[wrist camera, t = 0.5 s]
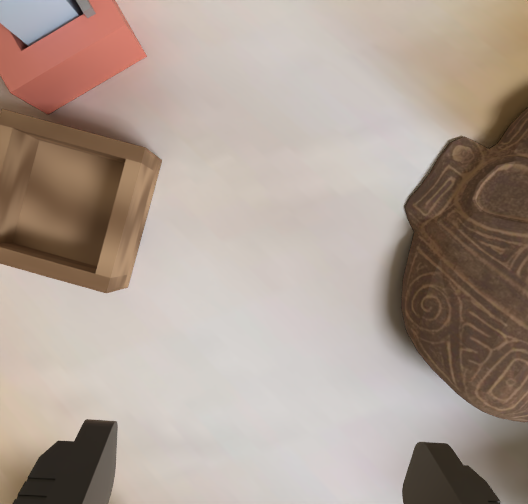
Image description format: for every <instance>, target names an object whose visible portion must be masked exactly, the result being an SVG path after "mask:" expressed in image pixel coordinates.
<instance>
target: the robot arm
mask: <svg viewBox="0 0 528 504" xmlns="http://www.w3.org/2000/svg"><path fill="white" fill-rule="evenodd" d="M116 447H117V422H116V421H104V420H88V419H87V420H85V421H84V423H83V425H82V427H81V429H80V431H79V433H78V435H77V437H76V439H75V441H74V442H72V441H57V442H56V443H55V444H54V445H53V446H52V447H50V448H49V449H48V450H47V451H46V452H45V453H44V454H42V455H41V456H40V457H39V459H38V460H37V462H36V464H35V466H34V467H33V469H32V471H31V473H30V474H29V476H28V479H27V482H26V481H25V483H24V485H23V487H22V488H21V490H20V492H19V493H18V497H17V499H15V500H14V502H13V504H108V502H109V498H110V495H111V491H112V487H113V482H114V476H115V468H116ZM402 496H403V503H404V504H500V500H499V499H498V497H497V496H496V495H495V493H494V492H493V490H492V489H491V488H490V486H489V485H488V483H487V482H486V481H485V480H484V479H483V478H481V477H480V476H479V475H478V474H477V473H476V472H475V471H474V470H472V469H471V468H470V467H469V466H465V465H463V464H462V463H461V461H460V460H459V458H458V457H457V455H456V454H455V452H454V451H453V449H452V448H451V447H450V446H449V445H448V444H445V443H429V442H419V443H417V444H416V446H415V448H414V451H413V455H412V458H411V461H410V464H409V467H408V471H407V474H406V477H405V480H404V483H403V490H402Z"/></svg>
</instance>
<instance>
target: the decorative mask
mask: <svg viewBox="0 0 528 504" xmlns="http://www.w3.org/2000/svg"><path fill="white" fill-rule="evenodd" d="M405 211H406V214H407V218H408V221H409V223H410V225H411V227H412V228H413V230H414V235H413V239H412V243H411V247H410V251H409V256H408V260H407V264H406V269H405V273H404V277H403V287H402V303H401V309H402V313H403V318H404V322H405V327H406V331H407V333H408V335H409V337H410V339H411V340H412V342H413V344H414V346H415V347H416V349H417V351H418V352H419V354H420V355H421V356H422V357H423V359H424V360H425V361H426V362H427V364H428V365H429V366H430V367H431V368H432V369H433V370H434V371H435V372H436V373H437V374H438V375H439V376H440V377H441V378H442V379H443V380H444V381H445V382H446V383H447V384H448V385H449V386H450V387H451V388H452V389H453V390H454V391H455V392H456V393H457V394H458V395H459V396H461V397H462V398H463V399H465V400H466V401H467V402H468V403H470V404H471V405H473V406H474V407H476V408H478V409H479V410H481V411H483V412H485V413H488V414H490V415H493V416H495V417H499V418H502V419H508V420H513V421H520V422H528V108H527V109H526V110H525V111H524V112H523V113H521V114H520V115H519V116H518V117H517V119H516V120H515V121H514V122H513V123H512V124H511V125H510V126H509V128H508V129H507V130H506V132H505V133H504V135H503V136H502V138H501V139H500V141H499V142H498V143H497V145H495V146H493V147H491V148H489V149H488V148H486V147H484V146H482V145H481V144H479V143H477V142H475V141H473V140H471V139H469V138H466V137H462V138H460V139H458V140H455V141H452V142H450V143H449V144H448V146H447V147H446V148H445V150H444V151H443V152H442V154H441V155H440V156H439V158H438V159H437V161H436V163H435V164H434V166H433V168H432V170H431V172H430V173H429V175H428V176H427V177H426V179H425V180H424V181H423V183H422V184H421V185H420V187H419V188H418V189H417V190H416V191H415V192H414V193H413V194H412V195H411V197H410V198H409V200H408V202H407V204H406V206H405Z"/></svg>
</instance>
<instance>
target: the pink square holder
mask: <svg viewBox="0 0 528 504" xmlns="http://www.w3.org/2000/svg"><path fill="white" fill-rule="evenodd" d="M76 1H77V3H78V5H79V6H80V8H81V10H82V12H83V13H84V14H83V15H81V16H79V17H78V18H76V19H74V20H73V21H71V22H69V23H68V24H66V25H64V26H63V27H61V28H59V29H58V30H56V31H54V32H53V33H51V34H49V35H48V36H46V37H44V38H42V39H41V40H39V41H37V42H36V43H34V44H32V45H31V46H28V45H27V44H25V43H24V42H23V41H22V40H20V39H19V38H18V37H17V36H16V35H14V34H13V33H12V32H11V31H9V30H8V29H7V28H6V27H5V26H3V25H2V24H1V23H0V75H1V77H2V79H3V81H4V83H5V84H6V86H7V88H8V90H9V91H10V93H12V94H13V95H15V96H17V97H18V98H20V99H22V100H24V101H25V102H27V103H29V104H30V105H32V106H34V107H36V108H37V109H39V110H41V111H42V112H44V113H46V114H50V113H52V112H53V111H55V110H57V109H58V108H60V107H62V106H64V105H65V104H67V103H69V102H70V101H72V100H74V99H75V98H77V97H79V96H80V95H82V94H84V93H86V92H87V91H89V90H91V89H92V88H94V87H96V86H97V85H99V84H101V83H102V82H104V81H106V80H108V79H109V78H111V77H113V76H114V75H116V74H118V73H119V72H121V71H123V70H125V69H126V68H128V67H130V66H131V65H133V64H135V63H136V62H138V61H140V60H141V59H143V58H145V57H147V56H146V54H145V52H144V50H143V49H142V47H141V45H140V43H139V42H138V40H137V38H136V36H135V35H134V33H133V31H132V29H131V28H130V26H129V24H128V22H127V20H126V19H125V17H124V15H123V13H122V12H121V10H120V8H119V6H118V5H117V3H116V1H115V0H76Z"/></svg>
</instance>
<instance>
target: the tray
mask: <svg viewBox="0 0 528 504" xmlns="http://www.w3.org/2000/svg"><path fill="white" fill-rule="evenodd" d="M161 163H162V160H161V159H160V158H158V157H157V156H156V155H154V154H153V153H152V152H150V151H149V150H148V149H147V148H145V147H141V146H138V145H134V144H130V143H127V142H123V141H119V140H116V139H112V138H108V137H105V136H101V135H97V134H93V133H90V132H86V131H82V130H79V129H75V128H71V127H68V126H64V125H60V124H57V123H53V122H49V121H46V120H42V119H38V118H34V117H31V116H27V115H23V114H20V113H16V112H12V111H9V110H5V109H2V110H1V113H0V264H4V265H7V266H11V267H15V268H18V269H22V270H25V271H29V272H32V273H36V274H39V275H43V276H47V277H50V278H54V279H57V280H61V281H64V282H68V283H72V284H75V285H79V286H82V287H86V288H89V289H93V290H96V291H100V292H104V293H109V292H113V291H116V290H120V289H124V288H128V285H129V281H130V278H131V274H132V270H133V267H134V263H135V259H136V255H137V252H138V248H139V244H140V241H141V237H142V233H143V229H144V226H145V222H146V218H147V215H148V211H149V207H150V203H151V200H152V196H153V192H154V189H155V185H156V181H157V177H158V174H159V170H160V166H161Z"/></svg>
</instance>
